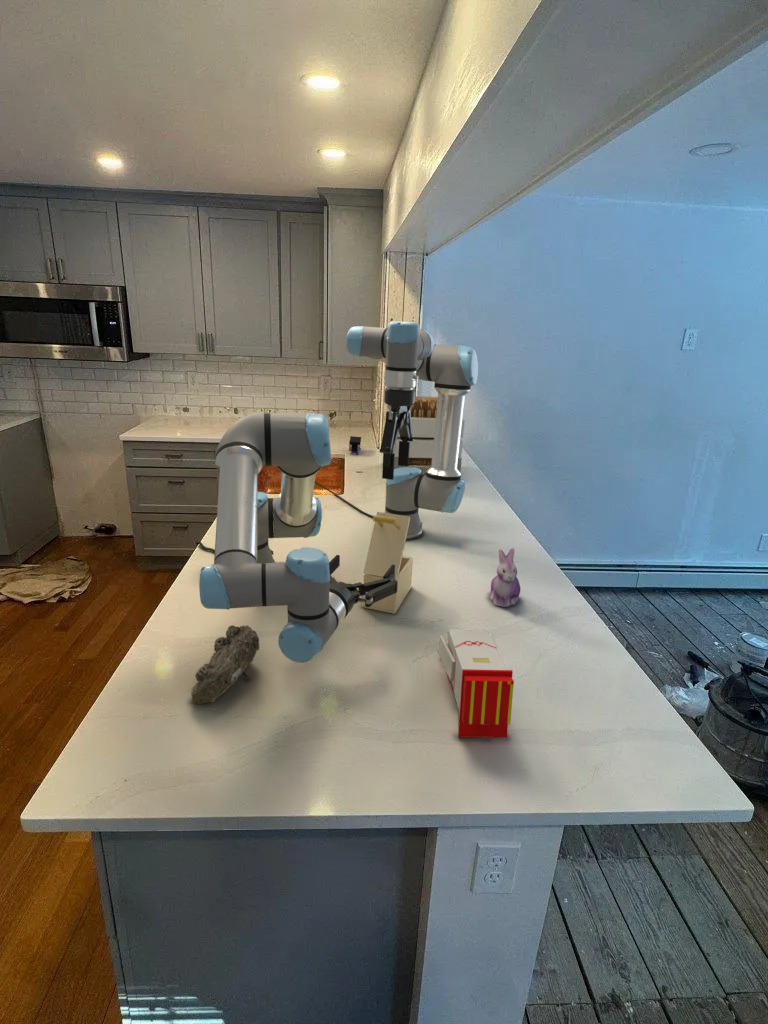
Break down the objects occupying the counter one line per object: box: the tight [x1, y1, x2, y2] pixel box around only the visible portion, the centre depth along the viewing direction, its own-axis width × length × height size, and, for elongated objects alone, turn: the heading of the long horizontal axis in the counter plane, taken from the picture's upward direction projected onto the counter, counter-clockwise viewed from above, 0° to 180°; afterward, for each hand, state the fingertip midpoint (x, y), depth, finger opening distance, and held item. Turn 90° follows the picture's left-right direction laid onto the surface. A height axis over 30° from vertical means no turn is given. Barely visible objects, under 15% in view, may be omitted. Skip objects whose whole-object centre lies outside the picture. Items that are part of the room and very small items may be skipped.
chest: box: [362, 555, 414, 615], centre depth 154 cm, size 16×9×9 cm, turn 162°
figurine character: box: [348, 435, 362, 455], centre depth 308 cm, size 7×8×15 cm
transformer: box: [386, 396, 465, 474], centre depth 268 cm, size 34×33×41 cm
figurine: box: [489, 547, 521, 608], centre depth 154 cm, size 9×10×15 cm
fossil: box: [191, 624, 260, 705], centre depth 119 cm, size 22×10×15 cm
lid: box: [362, 511, 410, 580], centre depth 144 cm, size 17×9×8 cm
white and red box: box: [437, 628, 515, 738], centre depth 117 cm, size 12×13×30 cm
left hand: (365, 564), depth 132 cm, fingers open, 13 cm apart
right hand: (395, 472), depth 145 cm, fingers open, 13 cm apart
